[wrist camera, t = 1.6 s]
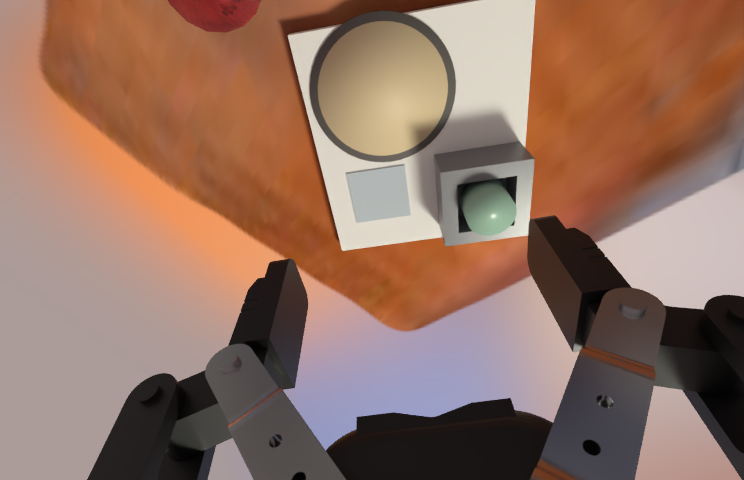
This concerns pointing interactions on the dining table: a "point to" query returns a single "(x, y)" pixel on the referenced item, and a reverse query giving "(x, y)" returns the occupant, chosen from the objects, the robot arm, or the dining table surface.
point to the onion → (216, 13)
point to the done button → (487, 207)
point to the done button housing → (479, 165)
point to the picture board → (410, 106)
